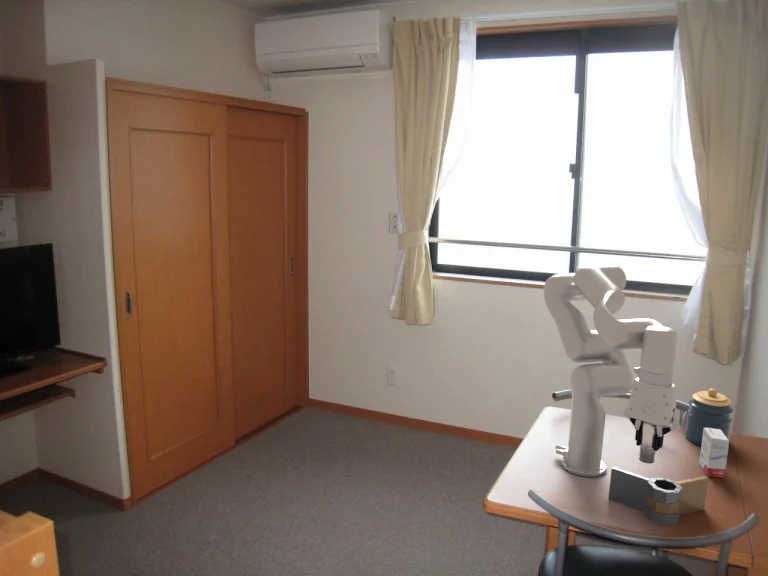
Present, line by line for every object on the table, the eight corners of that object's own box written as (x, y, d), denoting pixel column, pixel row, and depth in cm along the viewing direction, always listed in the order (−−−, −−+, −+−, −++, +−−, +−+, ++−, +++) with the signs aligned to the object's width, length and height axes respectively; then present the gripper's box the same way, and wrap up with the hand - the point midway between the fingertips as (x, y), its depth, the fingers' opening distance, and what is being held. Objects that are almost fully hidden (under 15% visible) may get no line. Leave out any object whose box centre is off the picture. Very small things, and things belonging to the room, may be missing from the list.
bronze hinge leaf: (660, 527, 157) (664, 494, 155) (639, 511, 164) (642, 480, 162) (713, 515, 163) (718, 484, 161) (691, 501, 170) (695, 470, 168)
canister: (710, 430, 215) (717, 381, 211) (737, 447, 203) (745, 395, 199) (676, 432, 213) (682, 382, 209) (700, 449, 200) (707, 397, 197)
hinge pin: (636, 460, 159) (641, 415, 156) (642, 455, 161) (646, 411, 159) (651, 464, 156) (656, 419, 154) (656, 460, 159) (661, 415, 156)
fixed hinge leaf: (681, 516, 162) (685, 484, 160) (671, 528, 157) (676, 495, 155) (614, 492, 173) (617, 462, 171) (603, 503, 168) (607, 472, 166)
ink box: (725, 478, 182) (730, 440, 180) (706, 476, 183) (711, 438, 181) (716, 464, 191) (721, 428, 188) (698, 463, 191) (703, 426, 189)
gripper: (616, 372, 157) (609, 441, 161) (686, 389, 146) (677, 462, 150) (628, 365, 163) (622, 432, 166) (696, 381, 152) (688, 452, 155)
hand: (648, 446), depth 158 cm, fingers closed on hinge pin, 3 cm apart
